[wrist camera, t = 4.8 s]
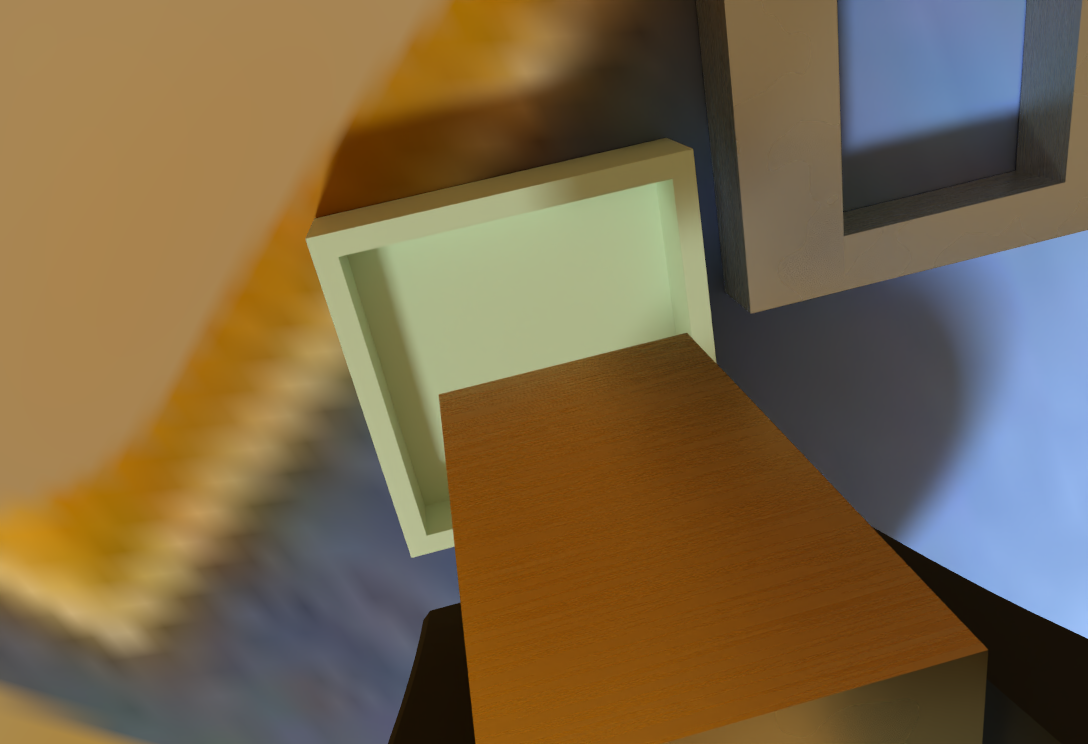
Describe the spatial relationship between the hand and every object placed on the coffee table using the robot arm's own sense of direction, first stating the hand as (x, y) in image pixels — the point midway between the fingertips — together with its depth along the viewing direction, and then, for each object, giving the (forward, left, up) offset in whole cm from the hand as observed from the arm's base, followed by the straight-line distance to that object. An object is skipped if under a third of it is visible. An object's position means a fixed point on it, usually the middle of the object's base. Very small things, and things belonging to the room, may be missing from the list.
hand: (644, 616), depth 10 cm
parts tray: (0, 0, -10) cm, 10 cm away
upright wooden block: (0, 0, -3) cm, 3 cm away
